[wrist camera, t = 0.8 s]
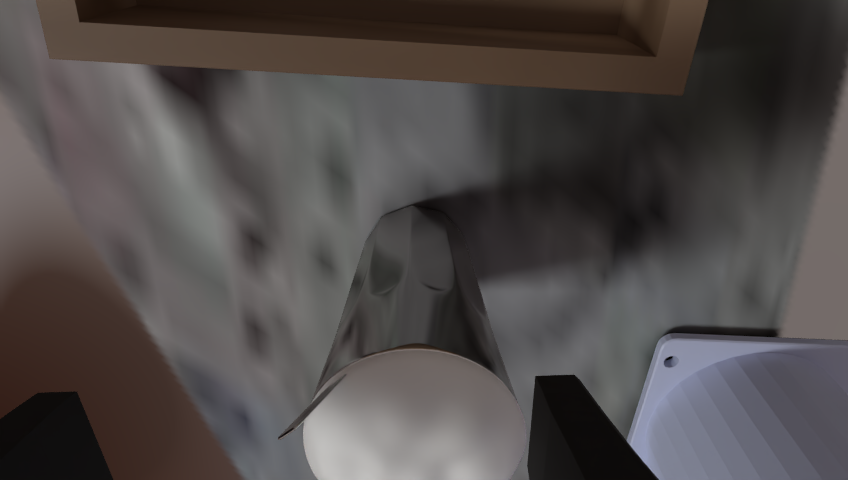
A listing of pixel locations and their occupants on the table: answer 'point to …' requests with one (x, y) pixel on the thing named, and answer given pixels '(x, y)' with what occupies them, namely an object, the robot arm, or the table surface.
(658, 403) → the robot arm
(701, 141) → the table surface
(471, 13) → the socket box
